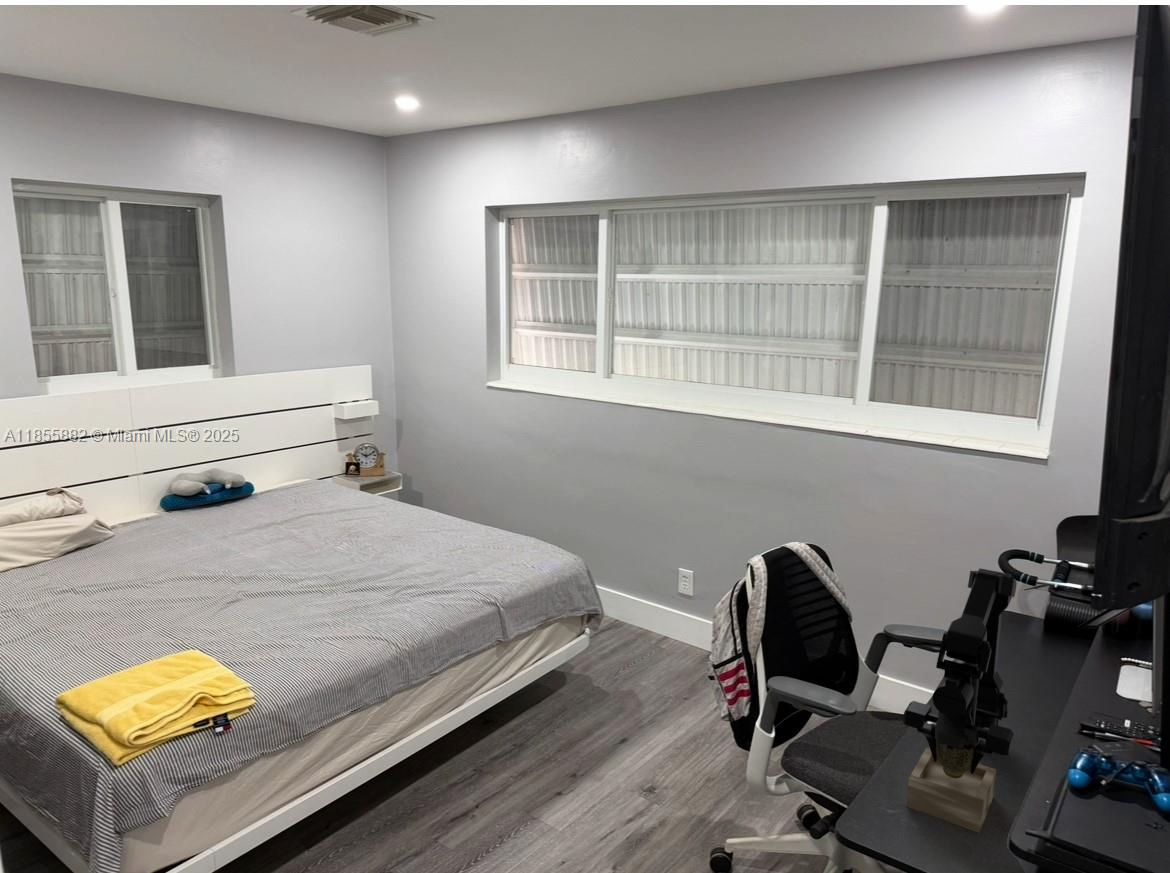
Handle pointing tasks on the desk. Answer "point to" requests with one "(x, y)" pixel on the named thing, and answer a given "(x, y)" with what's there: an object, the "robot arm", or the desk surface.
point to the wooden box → (951, 792)
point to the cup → (955, 758)
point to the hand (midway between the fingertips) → (953, 766)
